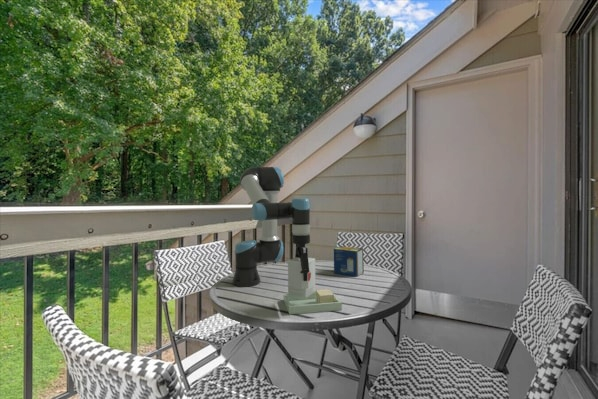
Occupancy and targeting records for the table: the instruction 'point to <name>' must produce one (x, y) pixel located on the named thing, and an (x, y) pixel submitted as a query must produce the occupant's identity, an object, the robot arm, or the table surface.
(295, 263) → the supplement box
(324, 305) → the green tray
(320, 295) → the tan rectangular block
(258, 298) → the table surface
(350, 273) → the protein box
